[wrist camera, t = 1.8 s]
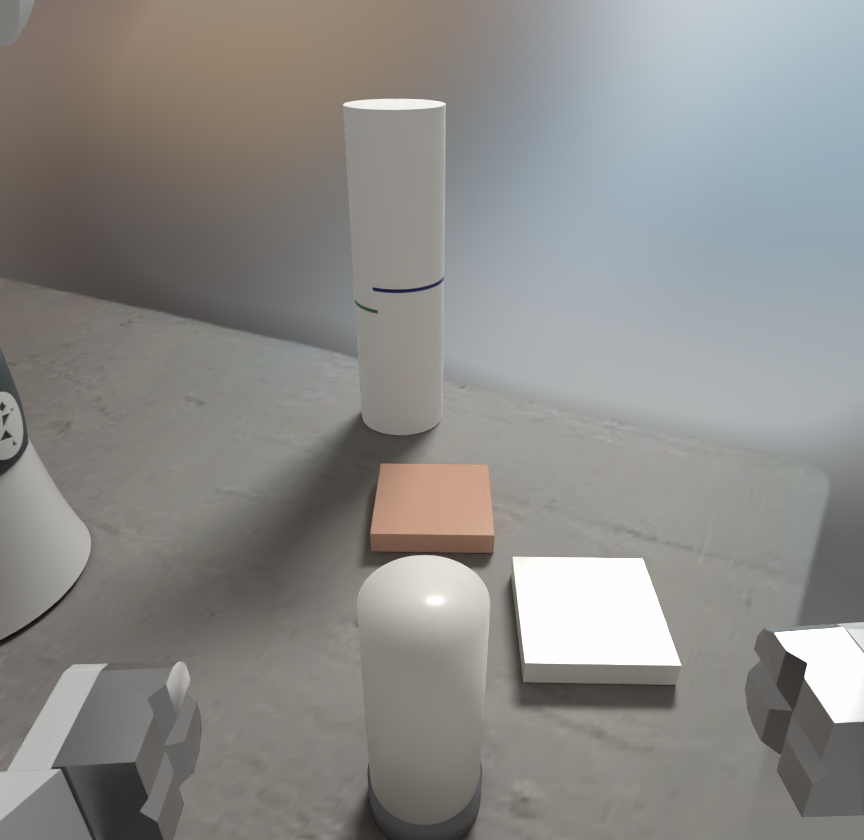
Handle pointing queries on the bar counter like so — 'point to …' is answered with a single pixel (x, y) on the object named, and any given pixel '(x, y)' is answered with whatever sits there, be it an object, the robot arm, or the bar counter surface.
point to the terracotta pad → (433, 509)
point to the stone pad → (590, 622)
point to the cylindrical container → (398, 258)
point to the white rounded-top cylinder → (424, 694)
